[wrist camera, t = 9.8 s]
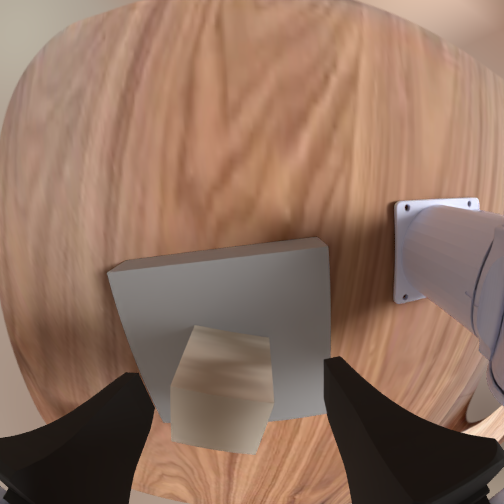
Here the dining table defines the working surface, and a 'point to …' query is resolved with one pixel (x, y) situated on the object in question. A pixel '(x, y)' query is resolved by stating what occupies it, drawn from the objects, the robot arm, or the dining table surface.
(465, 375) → the dining table surface
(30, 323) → the dining table surface
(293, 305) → the plinth
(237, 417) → the cream cube
